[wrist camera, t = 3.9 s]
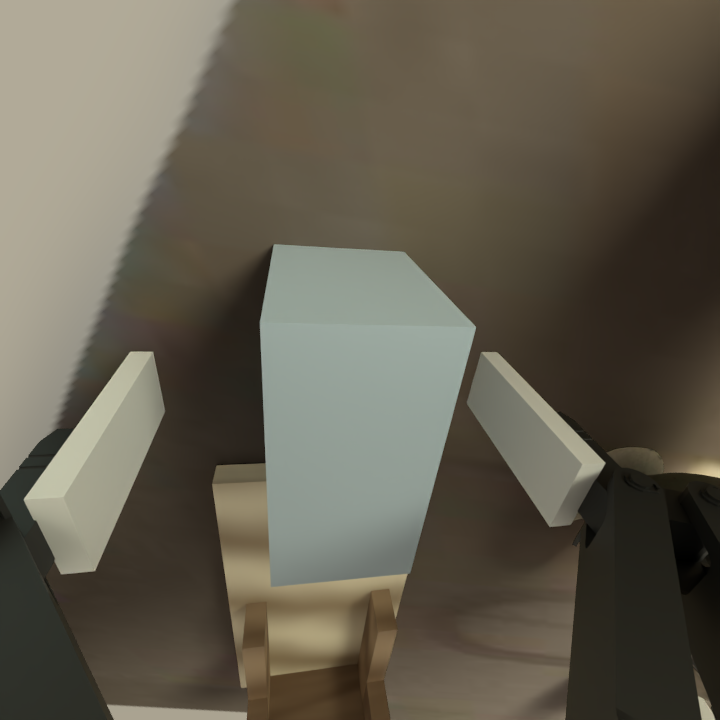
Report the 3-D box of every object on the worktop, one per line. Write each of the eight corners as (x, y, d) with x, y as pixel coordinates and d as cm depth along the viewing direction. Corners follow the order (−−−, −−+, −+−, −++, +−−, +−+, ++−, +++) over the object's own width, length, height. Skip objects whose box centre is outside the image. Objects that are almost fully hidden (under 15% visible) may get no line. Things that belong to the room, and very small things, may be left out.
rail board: (216, 465, 19) (151, 745, 10) (427, 456, 21) (522, 685, 12) (242, 669, 30) (222, 889, 21) (379, 651, 32) (412, 845, 23)
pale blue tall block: (273, 243, 14) (260, 322, 8) (403, 250, 15) (476, 327, 9) (277, 446, 19) (271, 587, 13) (375, 442, 20) (410, 573, 14)
